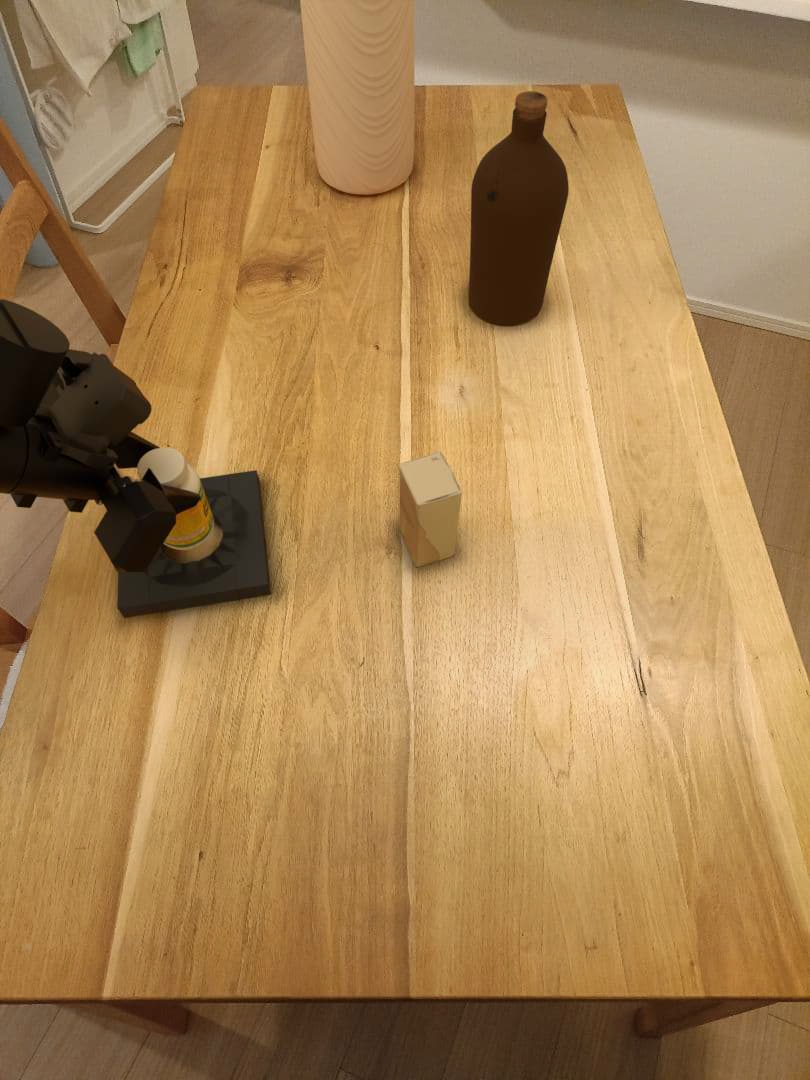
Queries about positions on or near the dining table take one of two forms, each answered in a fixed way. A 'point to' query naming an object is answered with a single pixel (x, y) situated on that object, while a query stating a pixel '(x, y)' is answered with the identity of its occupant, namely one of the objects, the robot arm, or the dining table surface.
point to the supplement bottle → (177, 473)
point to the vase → (361, 91)
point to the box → (428, 508)
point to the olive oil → (516, 218)
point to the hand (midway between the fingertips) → (183, 479)
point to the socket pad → (208, 557)
